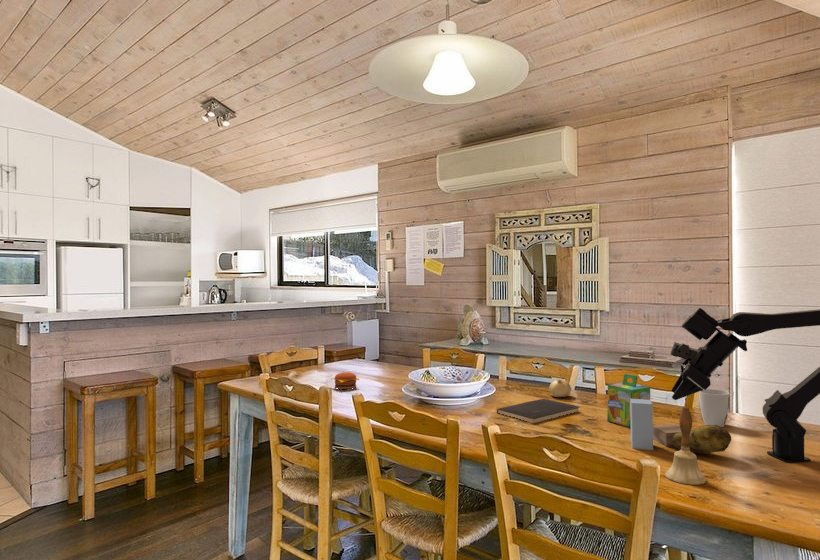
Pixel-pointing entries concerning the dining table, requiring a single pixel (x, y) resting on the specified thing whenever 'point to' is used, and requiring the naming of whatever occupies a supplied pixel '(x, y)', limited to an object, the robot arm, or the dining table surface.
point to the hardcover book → (538, 410)
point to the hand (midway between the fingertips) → (673, 395)
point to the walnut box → (665, 434)
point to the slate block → (641, 424)
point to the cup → (714, 406)
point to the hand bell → (685, 456)
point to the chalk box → (624, 399)
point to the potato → (705, 439)
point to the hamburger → (345, 380)
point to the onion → (560, 388)
